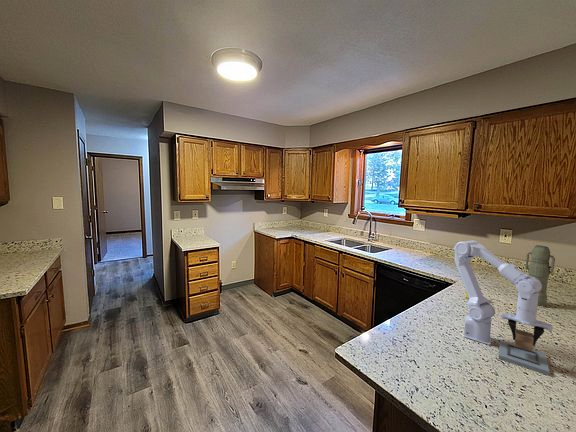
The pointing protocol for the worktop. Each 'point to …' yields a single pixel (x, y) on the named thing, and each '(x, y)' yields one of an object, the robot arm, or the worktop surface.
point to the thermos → (540, 269)
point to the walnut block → (524, 340)
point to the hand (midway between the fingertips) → (523, 341)
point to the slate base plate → (523, 357)
